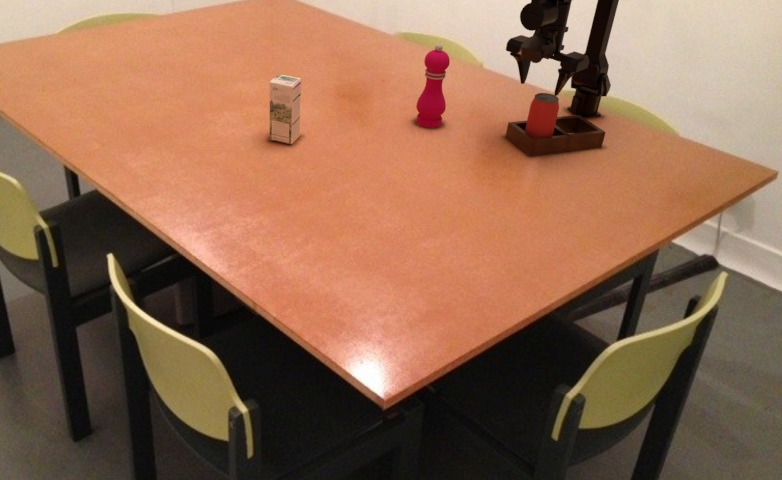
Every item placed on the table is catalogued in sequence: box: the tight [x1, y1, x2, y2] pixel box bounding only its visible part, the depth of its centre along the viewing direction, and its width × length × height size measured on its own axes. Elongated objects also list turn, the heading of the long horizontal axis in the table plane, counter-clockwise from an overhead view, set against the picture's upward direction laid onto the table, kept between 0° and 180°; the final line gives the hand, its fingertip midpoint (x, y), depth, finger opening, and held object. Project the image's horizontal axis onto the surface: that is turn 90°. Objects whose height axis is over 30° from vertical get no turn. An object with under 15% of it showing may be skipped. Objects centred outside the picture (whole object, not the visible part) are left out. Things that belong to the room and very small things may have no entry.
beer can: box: [525, 92, 560, 138], centre depth 183 cm, size 7×7×12 cm
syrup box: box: [269, 73, 302, 145], centre depth 177 cm, size 6×6×14 cm
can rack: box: [505, 114, 607, 157], centre depth 187 cm, size 21×11×4 cm, turn 111°
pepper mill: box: [416, 43, 451, 129], centre depth 188 cm, size 7×7×20 cm
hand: (539, 89), depth 181 cm, fingers open, 9 cm apart
